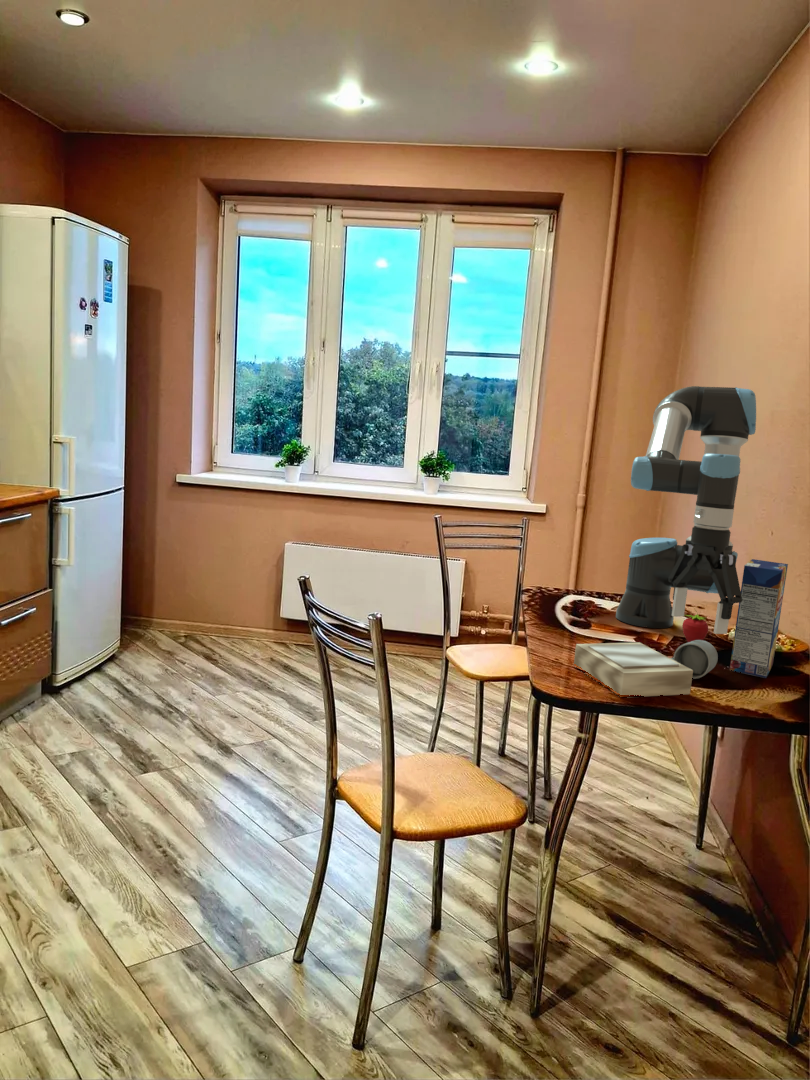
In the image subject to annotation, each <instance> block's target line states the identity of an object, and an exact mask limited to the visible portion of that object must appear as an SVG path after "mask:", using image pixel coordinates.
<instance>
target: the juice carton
mask: <svg viewBox="0 0 810 1080" xmlns="http://www.w3.org/2000/svg"><path fill="white" fill-rule="evenodd" d="M788 565H789V564H788V563H782V562H775V561H768V560H761V559H754V558H751V559H750V560H749V561H748V562H747V563H746V564H744V566H743V573H742V574H743V575H742V580H741V586H740V591H741V596H742V602H741V603H738V607H737V608H738V609H737V615H736V623H735V629H734V636H733V642H732V643H733V644H732V649H731V657H730V664H729V671H731V670H732V671H731V672H735V671H736V673H740V672H741V674H745V675H749V676H754V677H760V678H763V679H767V677H768V676H769V673H770V671H771V669H772V667H773V666H774V665H773V664H774V660H775V659H774V657H775V652H776V647H777V646H776V645H777V641H778V640H777V639H778V632H779V625H780V618H781V614H782V613H781V612H782V605H783V600H784V594H785V593H784V592H785V585H786V579H787V573H788Z"/></svg>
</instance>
